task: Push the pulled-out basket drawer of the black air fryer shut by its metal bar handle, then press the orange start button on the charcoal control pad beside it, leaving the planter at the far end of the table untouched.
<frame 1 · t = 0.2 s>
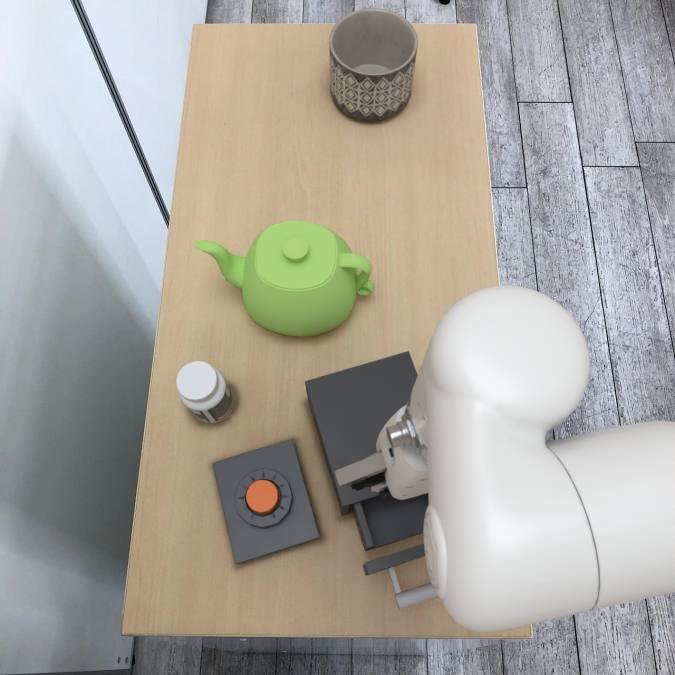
hand: (430, 464, 56), 22 cm above the table, tool pointing down, fingers open, 9 cm apart
planter: (370, 94, 99), on the table
pill bottle: (213, 403, 81), on the table
control pad: (267, 501, 76), on the table
basket: (402, 517, 71), point 5 cm above the table, slide at 6.0 cm
start button: (262, 496, 72), point 4 cm above the table, slide at 0.1 cm
teapot: (293, 294, 87), on the table
air fryer: (372, 443, 79), on the table
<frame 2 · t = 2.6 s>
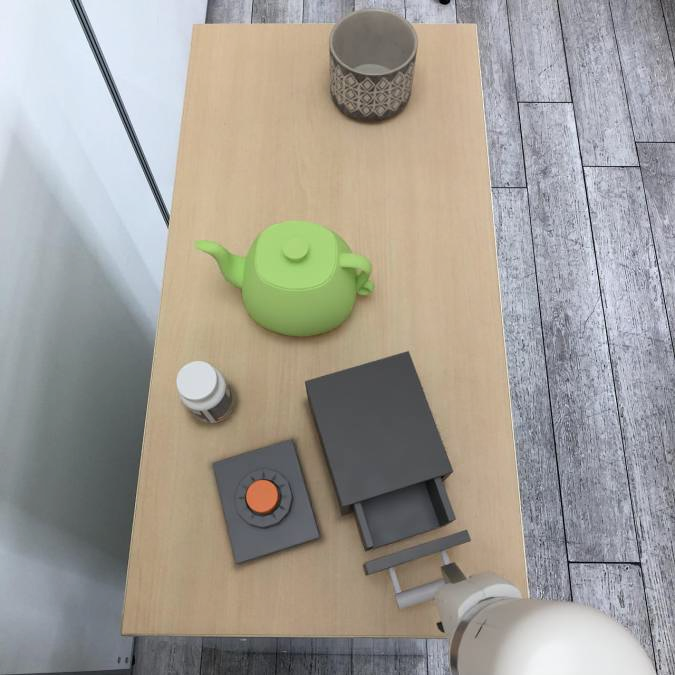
hand: (460, 640, 55), 17 cm above the table, tool pointing down, fingers closed
nothing on the table moved.
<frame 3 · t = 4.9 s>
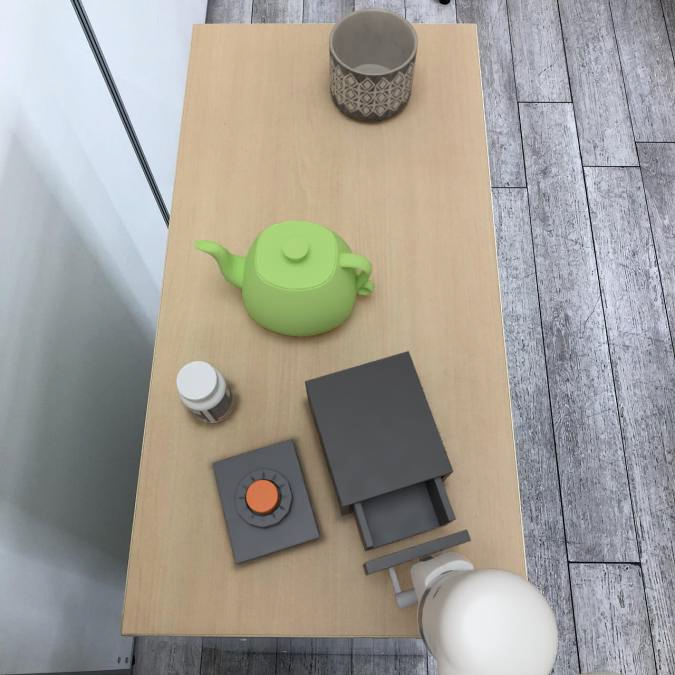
hand: (433, 609, 67), 5 cm above the table, tool pointing down, fingers closed
basket: (402, 517, 71), point 5 cm above the table, slide at 6.0 cm, touching gripper
everything else where it was.
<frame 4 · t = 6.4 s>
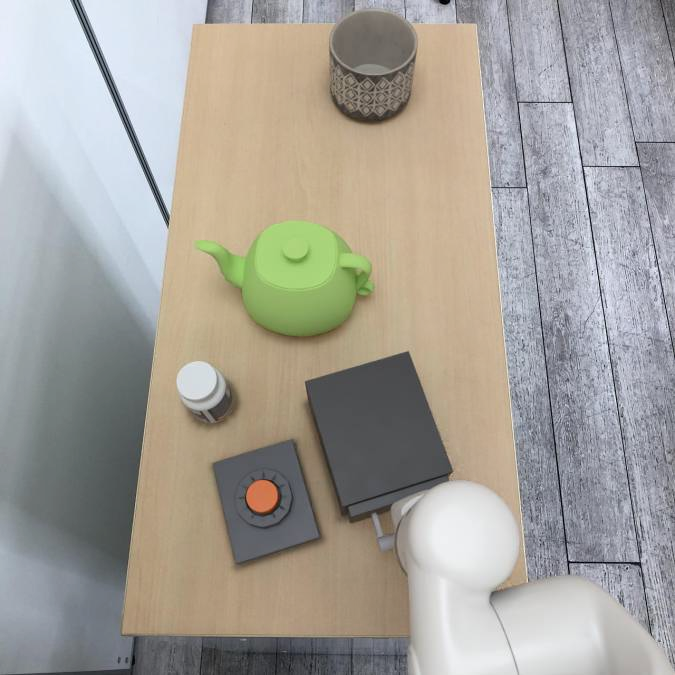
hand: (415, 553, 69), 5 cm above the table, tool pointing down, fingers closed
basket: (385, 466, 73), point 5 cm above the table, slide at 0.0 cm, touching air fryer, gripper
everything else where it was.
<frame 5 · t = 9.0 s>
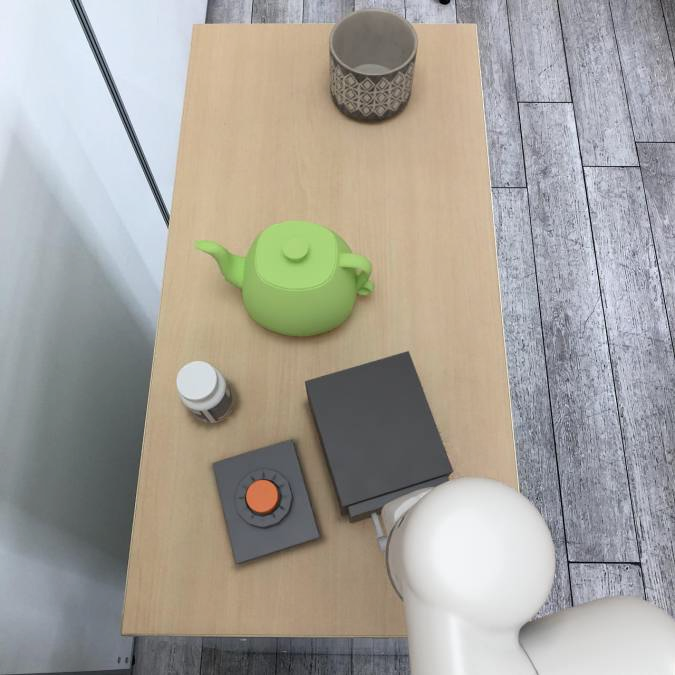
hand: (412, 562, 58), 17 cm above the table, tool pointing down, fingers closed
basket: (385, 466, 73), point 5 cm above the table, slide at 0.0 cm, touching air fryer
everything else where it was.
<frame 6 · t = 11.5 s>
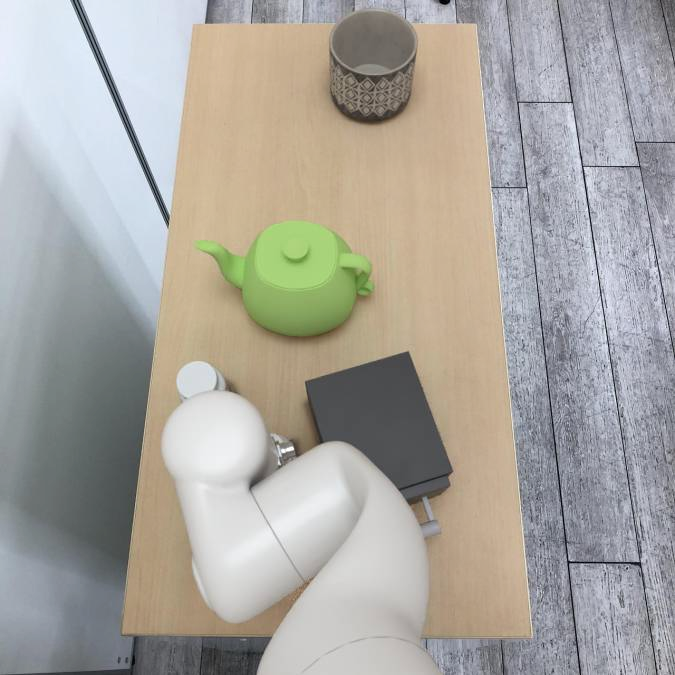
hand: (261, 494, 71), 5 cm above the table, tool pointing down, fingers closed
start button: (262, 496, 72), point 4 cm above the table, slide at 0.0 cm, touching gripper
everything else where it was.
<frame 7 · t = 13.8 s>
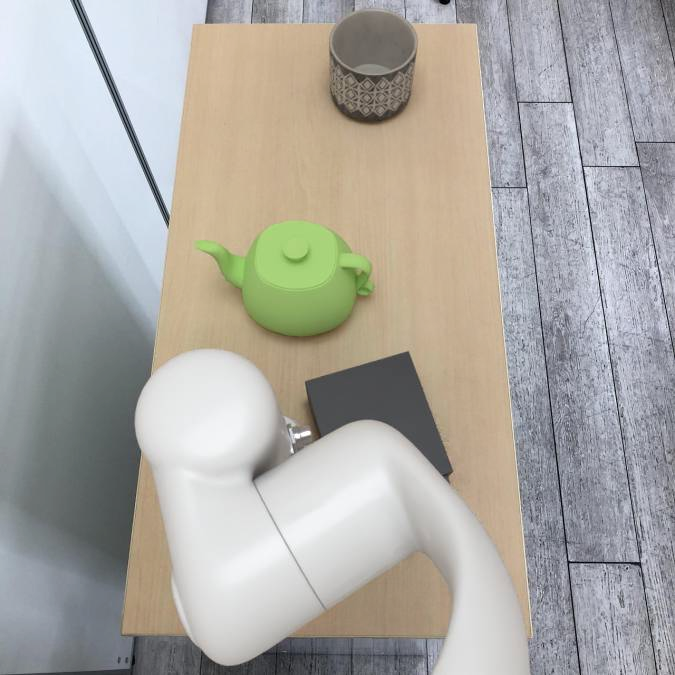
hand: (269, 496, 60), 17 cm above the table, tool pointing down, fingers closed
start button: (262, 496, 72), point 4 cm above the table, slide at 0.1 cm
everything else where it was.
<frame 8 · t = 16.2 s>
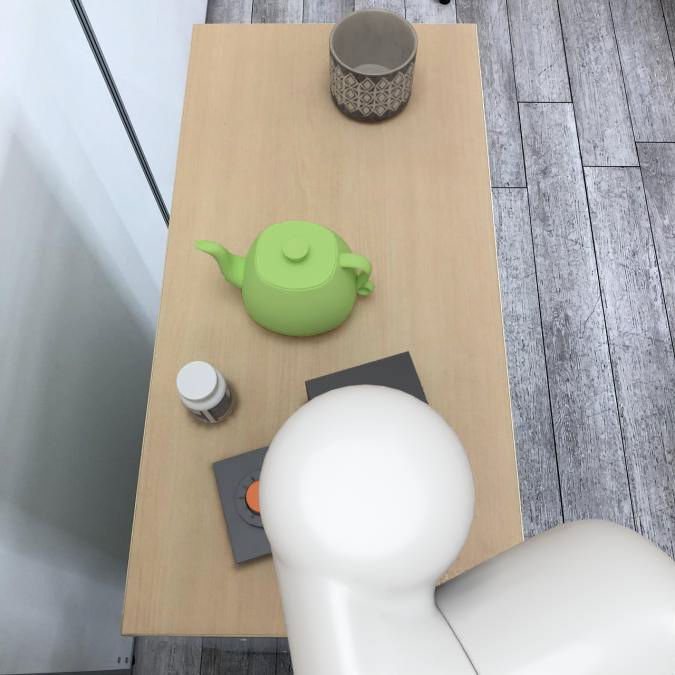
hand: (352, 542, 49), 27 cm above the table, tool pointing down, fingers closed
nothing on the table moved.
at the end: basket slide at 0.0 cm; start button pushed in 1.1 cm at the most during the clip, back to where it started at the end; planter moved 0.2 cm from its start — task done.
